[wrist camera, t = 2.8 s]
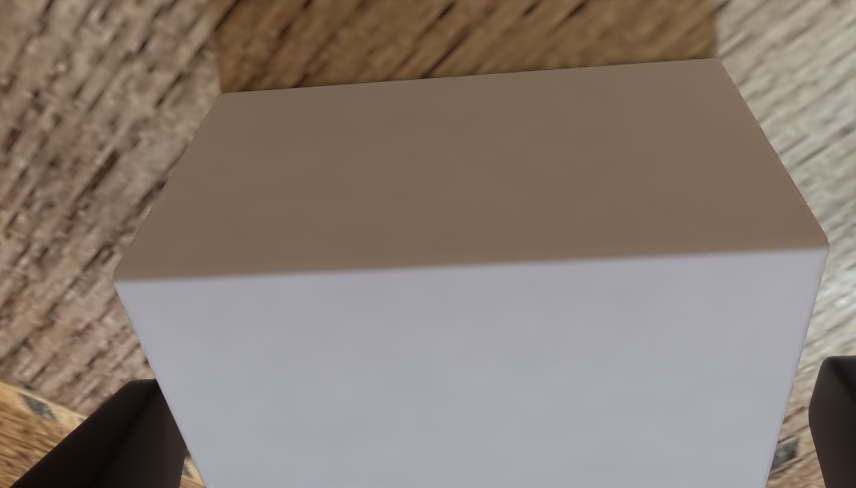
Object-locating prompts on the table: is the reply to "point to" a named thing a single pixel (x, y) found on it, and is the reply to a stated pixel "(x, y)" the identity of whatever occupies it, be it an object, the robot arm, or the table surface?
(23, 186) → the table surface
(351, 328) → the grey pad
